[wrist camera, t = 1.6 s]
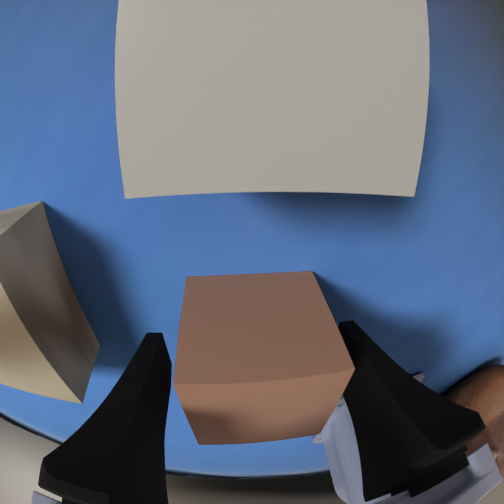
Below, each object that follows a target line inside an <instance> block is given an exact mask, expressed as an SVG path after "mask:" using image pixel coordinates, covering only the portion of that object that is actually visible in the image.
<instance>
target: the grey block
mask: <svg viewBox="0 0 504 504" xmlns="http://www.w3.org/2000/svg"><path fill="white" fill-rule="evenodd" d="M428 92H429V29H428V15H427V5H426V0H119V4H118V14H117V27H116V46H115V99H116V119H117V133H118V145H119V155H120V164H121V172H122V180H123V187H124V194H125V199H128V198H140V197H153V196H167V195H184V194H205V193H233V192H329V193H357V194H377V195H393V196H407V197H414V195H415V190H416V185H417V180H418V175H419V169H420V163H421V157H422V151H423V144H424V136H425V128H426V118H427V107H428Z"/></svg>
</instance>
